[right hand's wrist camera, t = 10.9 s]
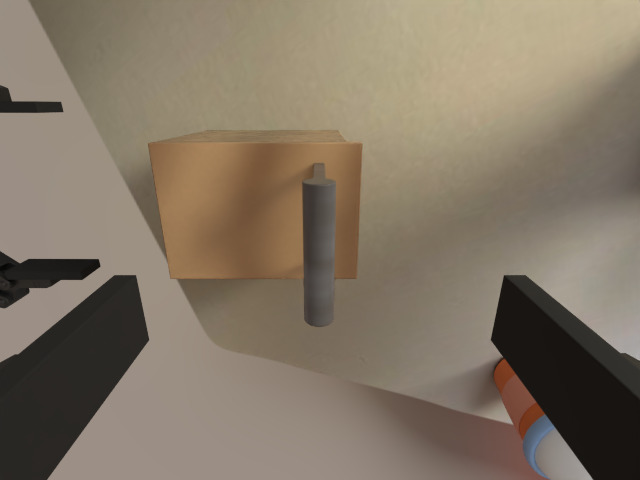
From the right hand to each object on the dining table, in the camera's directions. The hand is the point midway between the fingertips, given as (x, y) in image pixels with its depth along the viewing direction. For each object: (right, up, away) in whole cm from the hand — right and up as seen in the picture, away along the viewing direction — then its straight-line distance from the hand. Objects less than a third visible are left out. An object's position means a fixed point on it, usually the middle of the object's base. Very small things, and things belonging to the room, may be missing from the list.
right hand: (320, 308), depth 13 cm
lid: (-4, +5, +12) cm, 14 cm away
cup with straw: (+25, -14, +31) cm, 42 cm away
